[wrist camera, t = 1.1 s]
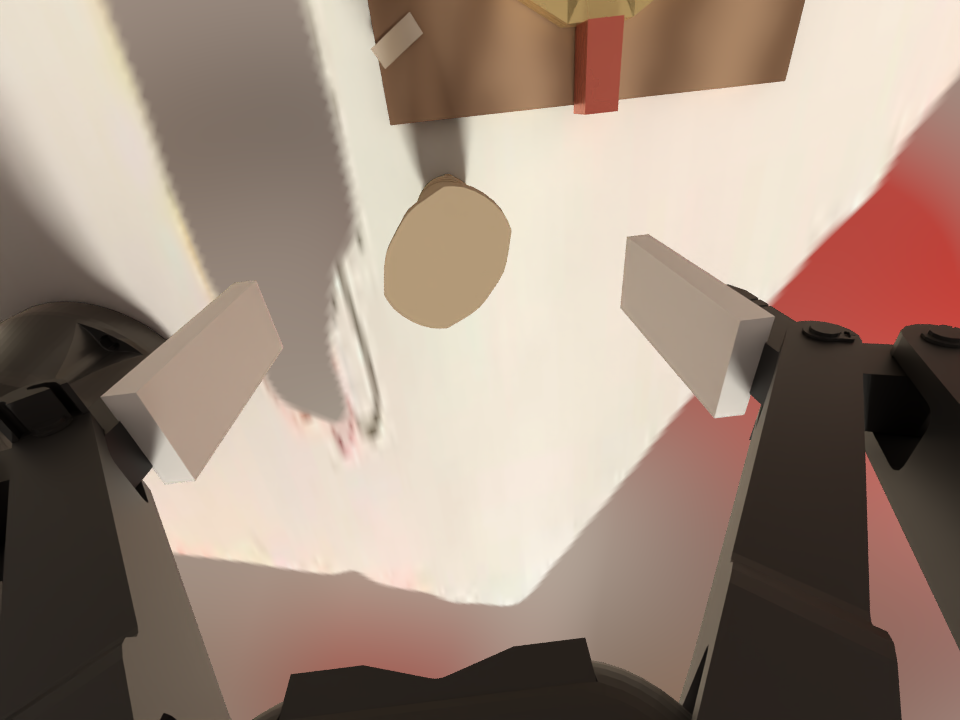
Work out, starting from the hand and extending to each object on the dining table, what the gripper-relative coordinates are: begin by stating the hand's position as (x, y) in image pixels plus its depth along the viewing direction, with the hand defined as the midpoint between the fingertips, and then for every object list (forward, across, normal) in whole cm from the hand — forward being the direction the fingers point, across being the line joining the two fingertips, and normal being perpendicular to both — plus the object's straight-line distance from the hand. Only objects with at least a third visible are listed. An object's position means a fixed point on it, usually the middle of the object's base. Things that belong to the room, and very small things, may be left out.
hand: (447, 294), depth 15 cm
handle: (+19, 0, 0) cm, 19 cm away
